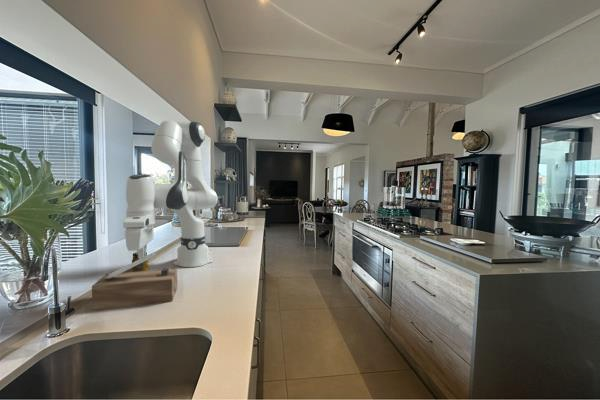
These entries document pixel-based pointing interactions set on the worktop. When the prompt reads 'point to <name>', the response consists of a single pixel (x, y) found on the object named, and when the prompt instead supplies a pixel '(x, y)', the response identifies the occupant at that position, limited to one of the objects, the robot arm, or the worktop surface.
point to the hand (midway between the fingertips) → (142, 257)
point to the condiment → (141, 266)
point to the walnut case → (135, 288)
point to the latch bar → (129, 266)
